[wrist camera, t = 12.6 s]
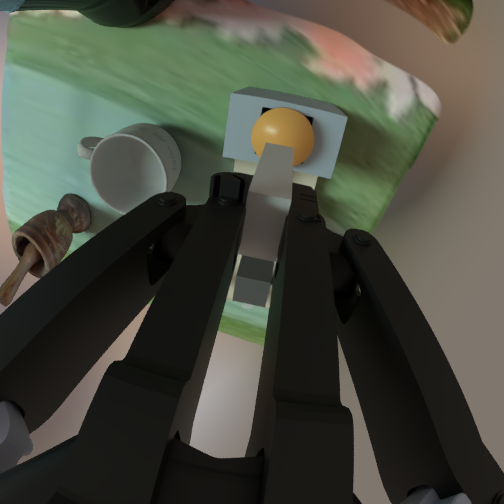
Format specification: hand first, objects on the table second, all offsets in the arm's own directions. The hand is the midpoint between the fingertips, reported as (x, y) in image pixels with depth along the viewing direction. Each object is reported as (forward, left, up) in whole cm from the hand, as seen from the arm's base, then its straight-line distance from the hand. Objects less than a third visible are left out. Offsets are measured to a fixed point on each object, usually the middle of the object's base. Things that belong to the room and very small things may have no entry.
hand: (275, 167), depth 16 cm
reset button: (0, 0, -16) cm, 16 cm away
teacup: (+7, -18, -20) cm, 28 cm away
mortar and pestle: (+21, -33, -20) cm, 44 cm away
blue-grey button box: (0, 0, -20) cm, 20 cm away
